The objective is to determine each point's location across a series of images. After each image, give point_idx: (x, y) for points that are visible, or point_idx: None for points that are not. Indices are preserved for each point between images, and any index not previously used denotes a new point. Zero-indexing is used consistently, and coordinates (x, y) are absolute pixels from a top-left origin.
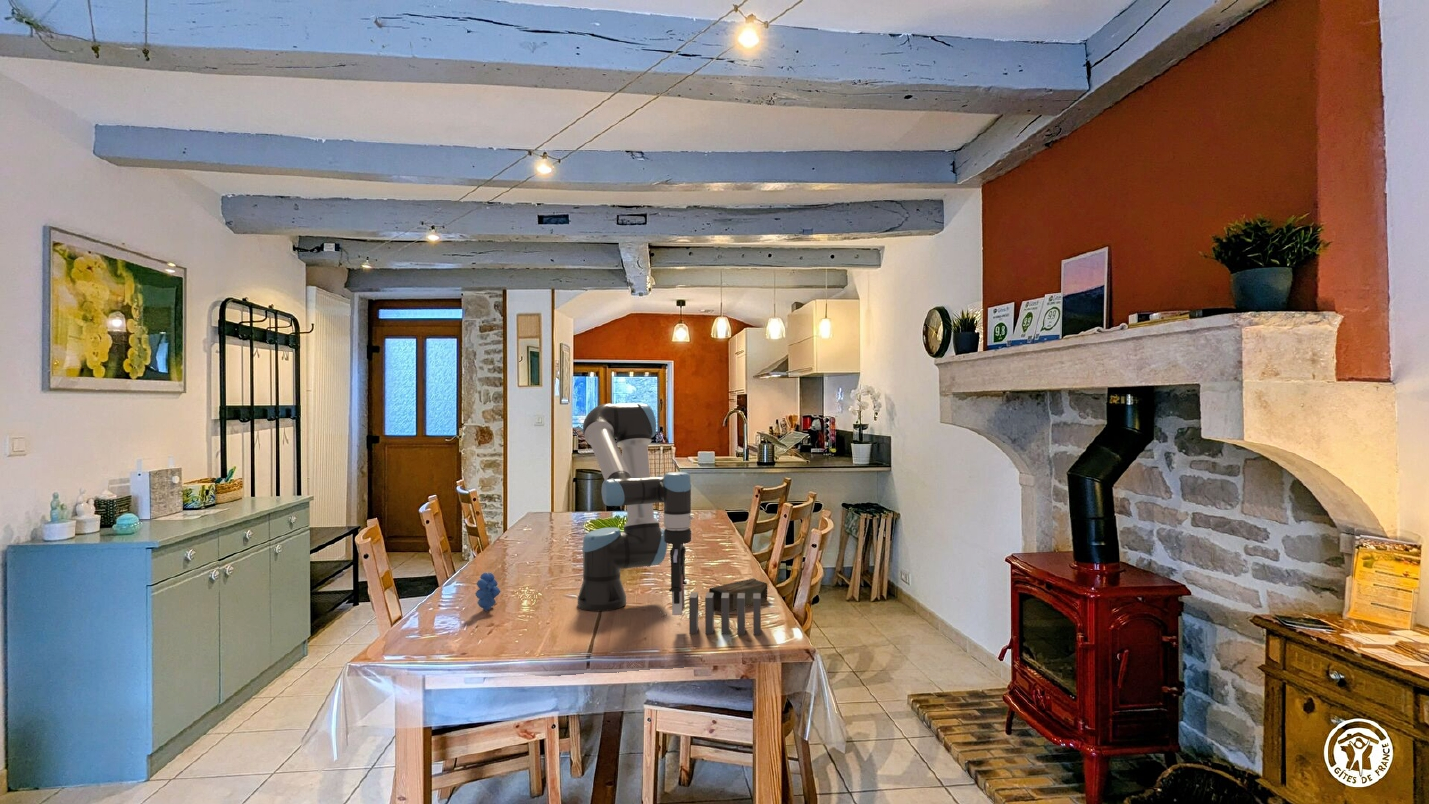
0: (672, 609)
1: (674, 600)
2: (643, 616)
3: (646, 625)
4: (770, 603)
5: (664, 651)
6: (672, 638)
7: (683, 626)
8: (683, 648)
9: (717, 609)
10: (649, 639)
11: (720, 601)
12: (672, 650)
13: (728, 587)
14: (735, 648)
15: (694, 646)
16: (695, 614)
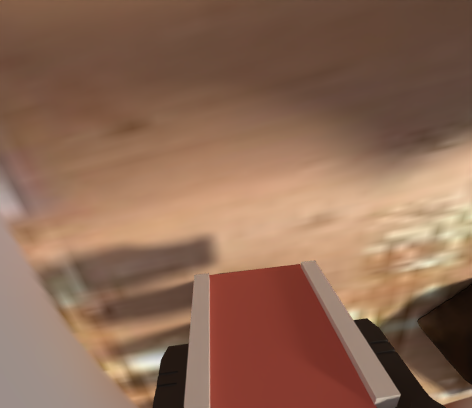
0: (193, 297)
1: (160, 373)
2: (439, 36)
3: (302, 88)
4: (467, 390)
5: (16, 237)
6: (159, 233)
7: (292, 241)
8: (74, 286)
9: (445, 304)
10: (122, 150)
11: (456, 341)
12: (39, 259)
13: None
14: (127, 389)
15: (105, 309)
16: None
